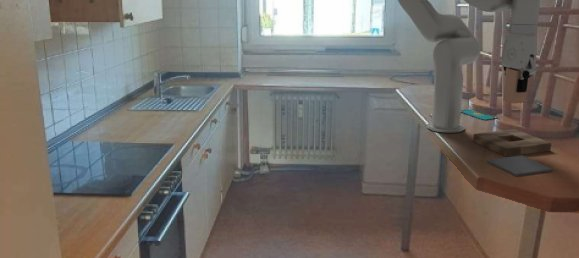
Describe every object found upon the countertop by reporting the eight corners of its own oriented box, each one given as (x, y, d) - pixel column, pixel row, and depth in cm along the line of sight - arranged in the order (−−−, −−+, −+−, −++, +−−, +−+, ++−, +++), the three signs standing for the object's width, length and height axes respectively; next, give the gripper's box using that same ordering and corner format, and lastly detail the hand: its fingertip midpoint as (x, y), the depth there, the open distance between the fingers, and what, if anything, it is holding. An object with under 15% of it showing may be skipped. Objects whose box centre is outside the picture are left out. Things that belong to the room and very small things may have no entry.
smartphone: (483, 119, 187) (457, 110, 200) (483, 121, 187) (457, 112, 201) (499, 117, 189) (472, 108, 203) (499, 119, 189) (472, 110, 203)
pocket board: (472, 141, 163) (473, 133, 163) (514, 136, 167) (515, 129, 167) (505, 156, 149) (506, 148, 148) (550, 150, 153) (551, 143, 152)
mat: (487, 161, 145) (487, 159, 144) (521, 157, 148) (522, 155, 148) (515, 176, 134) (515, 174, 133) (552, 170, 137) (553, 168, 136)
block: (503, 100, 156) (506, 68, 153) (515, 99, 157) (519, 67, 154) (513, 103, 152) (516, 70, 149) (525, 102, 153) (529, 69, 150)
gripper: (493, 27, 155) (487, 85, 160) (532, 33, 139) (524, 97, 145) (513, 27, 157) (507, 84, 162) (554, 32, 141) (546, 95, 146)
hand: (515, 89), depth 153 cm, fingers closed on block, 4 cm apart
